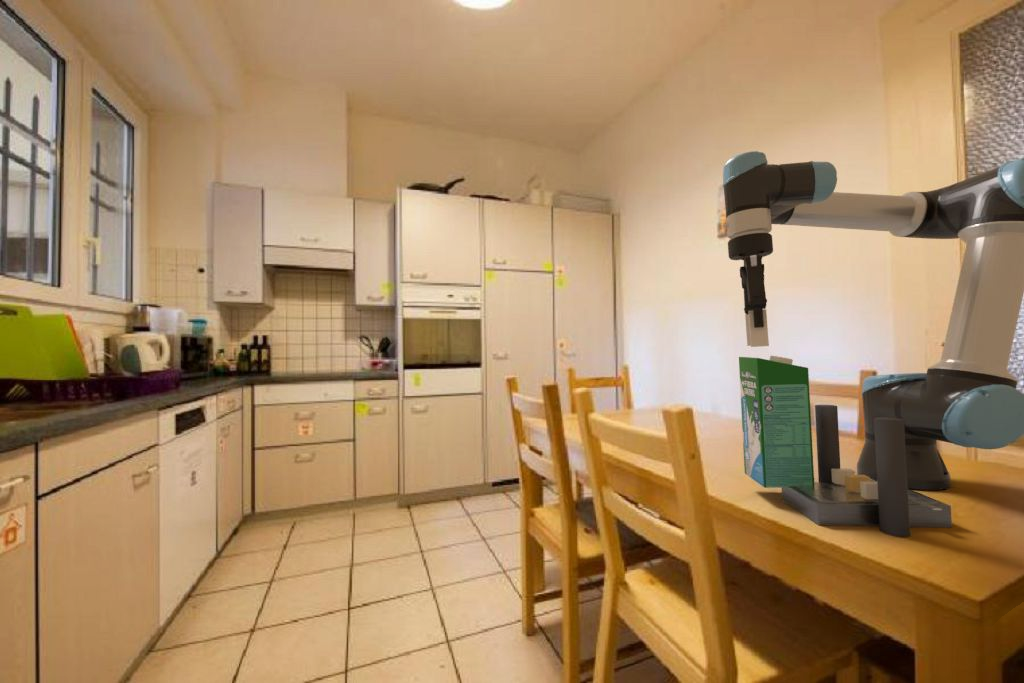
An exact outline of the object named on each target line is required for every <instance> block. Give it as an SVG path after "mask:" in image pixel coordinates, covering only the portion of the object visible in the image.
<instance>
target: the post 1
mask: <svg viewBox="0 0 1024 683" xmlns="http://www.w3.org/2000/svg"><path fill="white" fill-rule="evenodd" d="M814 414H815V433H816V434H815V435H816V456H817V458H816V459H817V474H818V477H817V478H818V482H832V472H831V469H841V455H840V454H841V452H840V433H839V432H840V431H839V415H838V414H839V412H838V405H835V404H815V405H814Z"/></svg>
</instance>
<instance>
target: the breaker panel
mask: <svg viewBox="0 0 1024 683" xmlns="http://www.w3.org/2000/svg"><path fill="white" fill-rule="evenodd" d="M870 482H877V481H875V480H873V479H870ZM781 496H782V497H781V499H782V501H783V500H784V501H785V502H784V501H783V502H784V503H786V504H787V503H788V504H787V505H788V506H790V507H791V508H793V509H795V510H796V511H797V512H798V513H800V514H802V515H803V516H805V517H806V518H807V519H809V520H810V521H812V522H813V523H815V524H816V525H817V526H838V527H839V526H840V527H841V526H843V527H844V526H845V527H846V526H847V527H880V523H879V504H878V499H865V498H863V497H861V491H849V490H847V489H846V485H845V484H835V483H833V482H819V481H816V482H815V481H814V485H794V486H788V488H781ZM908 505H909V524H910V528H948V529H949V528H953V523H952V519H953V518H952V506H951V505H950V504H948V503H945V502H943V501H940V500H938V499H935V498H932V497H930V496H927V495H926V494H923V493H920V492H917V491H915V490H914V489H910V488H908Z"/></svg>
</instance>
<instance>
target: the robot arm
mask: <svg viewBox="0 0 1024 683" xmlns="http://www.w3.org/2000/svg"><path fill="white" fill-rule="evenodd" d="M768 163H769V162H768V159H767V156H766V153H764V152H761V151H758V150H755V151H748V152H743V153H740V154H737V155H735V156H733V157H731V158H729V160H728V161H726V162H725V163H724V165H723V169H722V188H723V195H724V196H723V197H724V207H725V208H724V209H725V218H726V222H724V223H723V225H722V228H724V229H726V230H727V231H726V232H727V233H726V234H727V235H726V236H727V238H728V239H729V240H728V241H727V252H728V254H727V255H728V259H729V260H732V261H740V260H741V261H743V266H740V267H739V277H740V278H741V288H742V289H743V301H744V302H743V303H744V304H743V305H744V308H743V311H744V313H745V314H744V318H745V319H744V320H745V332H746V334H745V335H746V343H747V344H746V346H747V347H751V348H752V347H753V348H756V347H769V346H770V343H769V330H768V328H769V327H768V316H767V309H766V308H767V303H768V299H767V294H766V289H765V288H766V287H765V274H764V273H765V264H764V263H763V258H764V257H767V256H769V255H771V254H772V253H773V252H774V244H773V235H772V234H771V231H772V230H773V226H772V225H779V226H780V225H781V226H797V227H798V226H800V227H815V228H828V229H829V228H830V229H844V230H847V229H848V230H861V231H862V230H863V231H876V232H889V233H890V234H891V236H894V237H898V238H913V239H926V240H927V239H929V240H954V239H960V240H961V241H962V242H964V243H965V249H964V254H963V259H962V263H961V267H960V272H959V276H958V279H957V280H958V281H957V285H956V290H955V294H954V299H953V303H952V306H951V307H952V308H951V311H950V316H949V322H948V326H947V330H946V335H945V339H944V344H943V348H942V352H941V357H940V360H939V361H938V362H936V363H935V364H933V365H931V366H928V367H927V369H926V370H927V371H926V372H910V373H907V372H906V373H893V374H878V375H870V376H866V377H865V378H864V379H863V381H862V391H861V396H862V408H863V409H862V410H863V420H864V421H863V423H864V425H863V426H864V438H865V439H864V443H863V447H862V449H861V452H860V454H859V457H858V461H857V463H856V475H866V476H868V477H870V479H873V480H875V481H877V466H876V447H875V428H874V418H878V417H885V418H898V419H903V420H904V432H905V450H906V468H907V487H908V489H911V490H927V491H928V490H929V491H936V490H946V489H949V488H950V487H952V483H951V481H952V480H951V475H950V472H949V470H948V468H947V466H946V464H945V462H944V460H943V457H942V455H941V453H940V451H939V449H938V444H937V441H939V442H944V443H948V444H949V443H950V444H954V445H956V446H960V447H963V448H974V449H979V450H997V449H1001V448H1006V447H1007V446H1009V445H1010V444H1013V443H1016V442H1017V441H1019V440H1020V439H1021V438H1022V437H1023V436H1024V393H1023V392H1021V391H1020V390H1019V389H1017V386H1018V379H1017V378H1016V377H1015V376H1014V375H1013V374H1011V373H1010V372H1009V370H1008V367H1009V362H1010V356H1011V352H1012V349H1013V348H1012V347H1013V343H1014V338H1015V334H1016V330H1017V329H1016V328H1017V325H1018V320H1019V316H1020V312H1021V307H1022V302H1023V297H1024V157H1021V158H1018V159H1016V160H1010V161H1007V162H1005V163H1003V164H1001V165H1000V166H997V167H994V168H991V169H990V170H987V171H984V172H982V173H980V174H976V175H973V176H972V177H969V178H966V179H964V180H961V181H958V182H956V183H953V184H951V185H948V186H945V187H941V188H938V189H934V190H929V191H908V192H906V193H903V194H902V195H891V194H873V193H859V192H858V193H855V192H842V191H841V192H838V191H835V189H836V187H837V182H838V177H837V176H838V175H837V174H838V172H837V169H836V166H835V165H834V164H833V163H831V162H829V161H813V160H810V161H805V162H793V163H779V164H773V163H772V164H770V163H769V164H768Z"/></svg>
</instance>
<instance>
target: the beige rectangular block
mask: <svg viewBox="0 0 1024 683" xmlns="http://www.w3.org/2000/svg"><path fill="white" fill-rule="evenodd" d="M860 489H861V497H863V498H865V499H878V485H877V482H860Z"/></svg>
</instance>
